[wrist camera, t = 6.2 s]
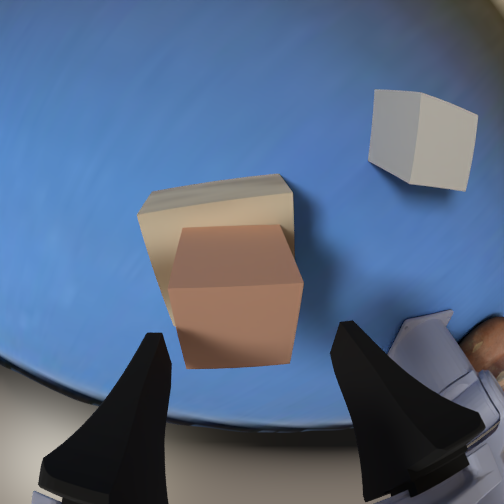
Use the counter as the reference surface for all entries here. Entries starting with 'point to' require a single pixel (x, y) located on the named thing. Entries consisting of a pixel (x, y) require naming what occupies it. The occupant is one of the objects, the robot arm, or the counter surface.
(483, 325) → the ceramic jug
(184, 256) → the terracotta cube
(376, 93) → the grey block
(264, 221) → the birch plinth
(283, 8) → the counter surface
